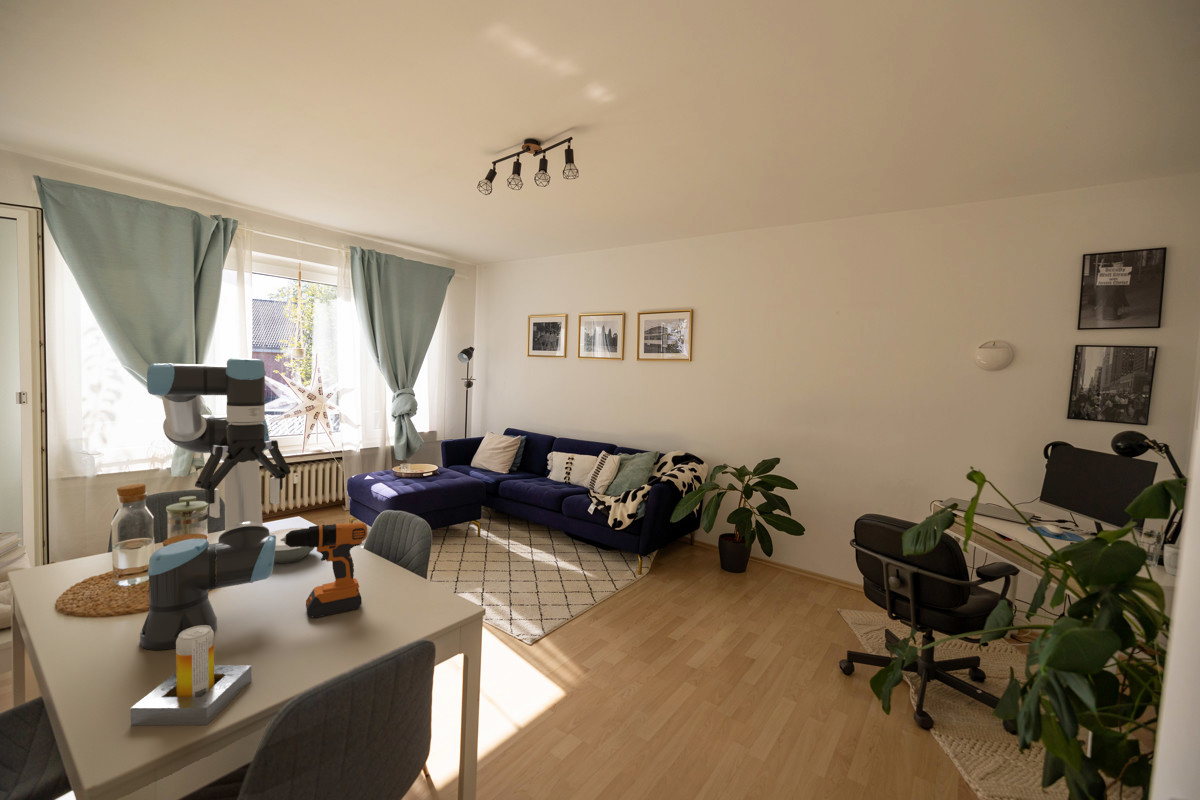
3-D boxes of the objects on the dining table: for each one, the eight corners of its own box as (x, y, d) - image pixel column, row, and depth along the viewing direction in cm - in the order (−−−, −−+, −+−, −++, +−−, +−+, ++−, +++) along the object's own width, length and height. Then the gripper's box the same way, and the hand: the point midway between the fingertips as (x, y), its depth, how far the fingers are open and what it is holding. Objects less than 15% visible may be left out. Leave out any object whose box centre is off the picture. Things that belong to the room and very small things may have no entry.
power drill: (280, 625, 135) (280, 534, 134) (280, 614, 141) (280, 526, 140) (368, 607, 147) (369, 524, 145) (364, 597, 153) (365, 517, 151)
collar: (130, 725, 97) (130, 708, 97) (185, 680, 111) (185, 665, 111) (206, 724, 98) (206, 707, 98) (251, 680, 112) (251, 665, 112)
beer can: (205, 688, 109) (204, 621, 108) (220, 698, 106) (219, 629, 105) (171, 704, 104) (170, 634, 103) (185, 715, 101) (184, 642, 100)
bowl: (267, 550, 186) (267, 528, 185) (324, 547, 192) (324, 526, 191) (249, 571, 168) (249, 546, 168) (312, 566, 174) (312, 543, 173)
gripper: (194, 429, 108) (194, 525, 109) (306, 420, 130) (305, 500, 132) (175, 425, 111) (176, 519, 113) (288, 417, 134) (287, 496, 135)
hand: (246, 509), depth 122 cm, fingers open, 13 cm apart
